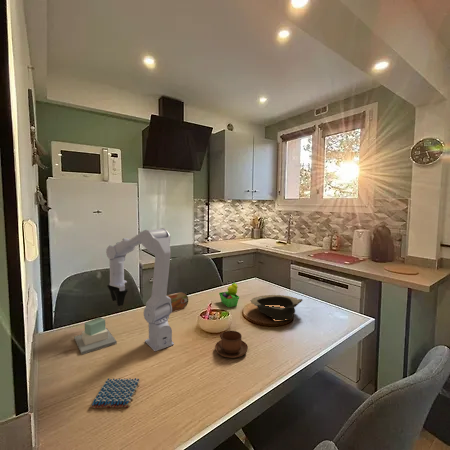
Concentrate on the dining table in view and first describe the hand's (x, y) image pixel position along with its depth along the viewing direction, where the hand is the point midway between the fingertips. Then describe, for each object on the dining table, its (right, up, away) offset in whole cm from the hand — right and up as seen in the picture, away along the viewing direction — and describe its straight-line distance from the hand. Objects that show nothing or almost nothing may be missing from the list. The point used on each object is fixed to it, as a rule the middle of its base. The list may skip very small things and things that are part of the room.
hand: (117, 302), depth 114 cm
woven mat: (+17, -14, -41) cm, 46 cm away
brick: (-3, -7, -13) cm, 15 cm away
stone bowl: (+72, -10, +15) cm, 74 cm away
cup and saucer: (+49, -13, -19) cm, 54 cm away
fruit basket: (+50, -9, +28) cm, 58 cm away
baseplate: (-4, -11, -12) cm, 17 cm away
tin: (+21, -10, +19) cm, 30 cm away
